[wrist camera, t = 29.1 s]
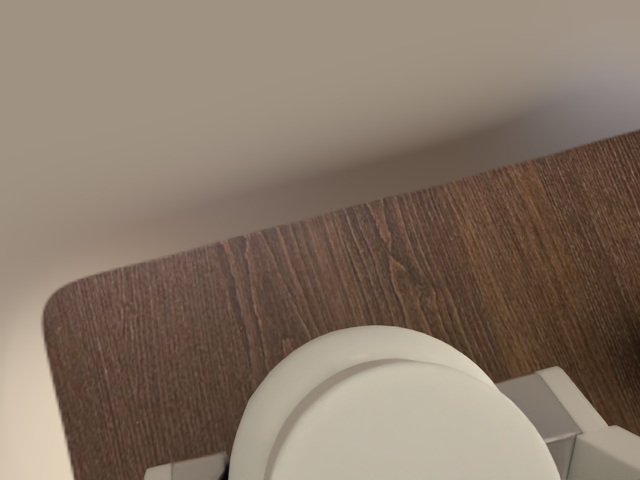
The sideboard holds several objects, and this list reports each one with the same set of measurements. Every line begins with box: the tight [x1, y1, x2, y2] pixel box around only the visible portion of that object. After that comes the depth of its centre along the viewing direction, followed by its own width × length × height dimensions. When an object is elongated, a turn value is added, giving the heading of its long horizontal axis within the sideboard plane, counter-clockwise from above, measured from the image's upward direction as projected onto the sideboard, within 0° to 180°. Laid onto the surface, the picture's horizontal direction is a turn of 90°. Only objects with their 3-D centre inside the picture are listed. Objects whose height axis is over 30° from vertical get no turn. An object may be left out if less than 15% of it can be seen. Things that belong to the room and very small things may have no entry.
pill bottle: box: [228, 325, 561, 480], centre depth 12 cm, size 5×5×10 cm
